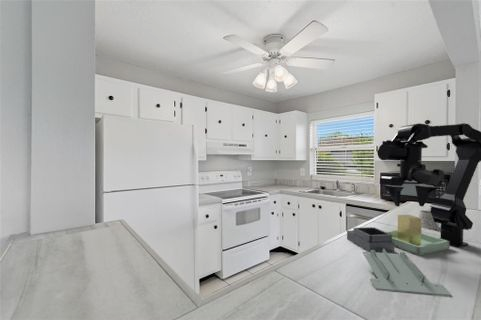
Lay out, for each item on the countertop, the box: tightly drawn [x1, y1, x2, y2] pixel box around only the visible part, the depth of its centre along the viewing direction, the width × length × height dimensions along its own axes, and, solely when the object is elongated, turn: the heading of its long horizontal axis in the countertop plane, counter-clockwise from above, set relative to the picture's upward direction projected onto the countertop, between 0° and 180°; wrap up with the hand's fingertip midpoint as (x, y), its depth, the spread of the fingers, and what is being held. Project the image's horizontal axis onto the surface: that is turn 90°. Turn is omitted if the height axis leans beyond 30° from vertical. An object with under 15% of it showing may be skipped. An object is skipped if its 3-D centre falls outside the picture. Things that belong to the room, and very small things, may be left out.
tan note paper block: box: [397, 214, 422, 245], centre depth 73 cm, size 4×4×9 cm
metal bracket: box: [362, 249, 452, 298], centre depth 52 cm, size 14×6×15 cm
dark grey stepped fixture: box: [346, 226, 395, 253], centre depth 72 cm, size 8×12×5 cm
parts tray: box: [384, 229, 451, 257], centre depth 73 cm, size 16×14×2 cm
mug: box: [418, 209, 440, 230], centre depth 94 cm, size 10×7×7 cm, turn 147°
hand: (409, 206), depth 73 cm, fingers open, 9 cm apart
